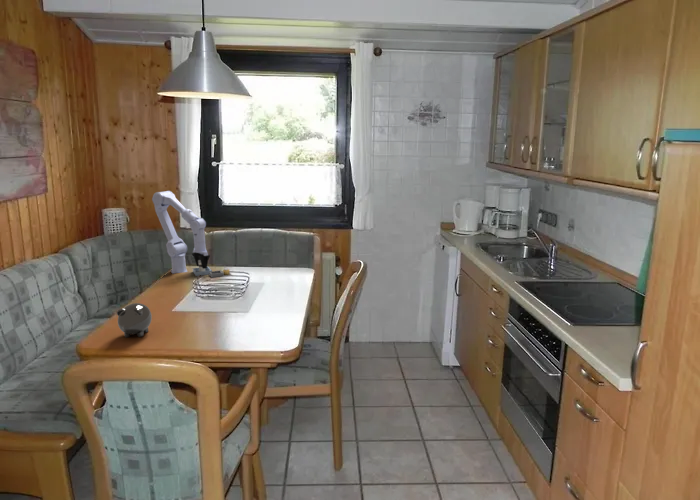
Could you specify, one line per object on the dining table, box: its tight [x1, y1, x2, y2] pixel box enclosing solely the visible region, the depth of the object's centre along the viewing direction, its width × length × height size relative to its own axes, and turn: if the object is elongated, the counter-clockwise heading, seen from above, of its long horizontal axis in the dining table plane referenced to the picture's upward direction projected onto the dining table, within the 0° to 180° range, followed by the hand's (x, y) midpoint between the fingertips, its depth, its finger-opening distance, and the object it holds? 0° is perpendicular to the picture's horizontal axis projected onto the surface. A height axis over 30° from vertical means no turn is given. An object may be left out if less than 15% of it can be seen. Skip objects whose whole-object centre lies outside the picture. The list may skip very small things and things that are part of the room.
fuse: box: [198, 260, 205, 272], centre depth 283 cm, size 3×3×7 cm
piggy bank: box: [116, 302, 153, 338], centre depth 195 cm, size 11×15×12 cm
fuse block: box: [209, 268, 233, 279], centre depth 277 cm, size 8×10×3 cm
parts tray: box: [192, 265, 213, 277], centre depth 283 cm, size 10×8×2 cm
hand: (201, 267), depth 283 cm, fingers open, 7 cm apart
